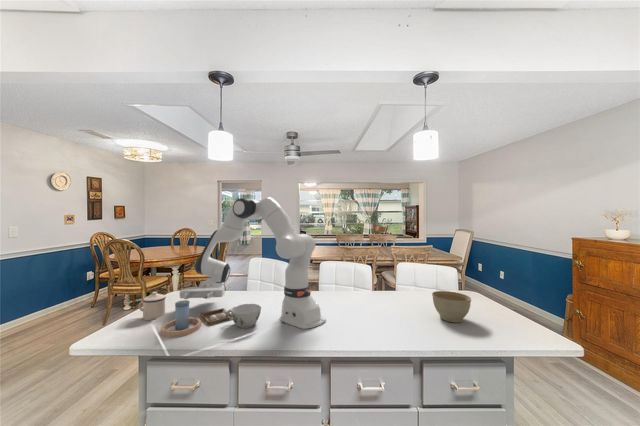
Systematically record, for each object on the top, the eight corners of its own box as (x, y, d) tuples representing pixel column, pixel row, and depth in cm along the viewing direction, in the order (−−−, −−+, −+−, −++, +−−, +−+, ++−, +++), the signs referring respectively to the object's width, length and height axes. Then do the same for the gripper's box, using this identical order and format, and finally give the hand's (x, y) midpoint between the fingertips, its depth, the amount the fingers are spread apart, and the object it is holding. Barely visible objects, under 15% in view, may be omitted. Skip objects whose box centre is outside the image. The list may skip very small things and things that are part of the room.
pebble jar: (190, 329, 103) (190, 302, 103) (176, 333, 99) (176, 305, 100) (187, 325, 107) (187, 299, 107) (173, 328, 103) (173, 302, 103)
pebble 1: (217, 322, 109) (217, 315, 110) (210, 324, 107) (210, 317, 108) (215, 320, 112) (215, 313, 112) (208, 321, 110) (208, 315, 110)
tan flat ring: (205, 331, 102) (205, 324, 102) (165, 342, 93) (165, 335, 93) (195, 320, 113) (195, 315, 113) (158, 330, 103) (158, 323, 103)
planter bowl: (477, 327, 107) (477, 302, 107) (437, 324, 110) (437, 299, 110) (463, 313, 122) (463, 291, 123) (428, 311, 125) (428, 289, 126)
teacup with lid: (169, 313, 122) (170, 289, 122) (156, 321, 113) (156, 295, 113) (146, 312, 122) (146, 289, 123) (131, 320, 113) (131, 294, 114)
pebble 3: (229, 317, 115) (229, 310, 115) (222, 318, 113) (222, 312, 113) (226, 315, 118) (226, 308, 118) (220, 316, 115) (220, 310, 116)
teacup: (265, 321, 112) (265, 303, 113) (254, 334, 100) (254, 314, 100) (234, 319, 115) (234, 302, 115) (219, 331, 102) (219, 311, 102)
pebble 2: (227, 319, 112) (227, 313, 112) (220, 321, 110) (220, 314, 110) (224, 318, 114) (224, 311, 114) (217, 319, 112) (217, 313, 112)
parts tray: (234, 320, 113) (234, 315, 113) (209, 327, 106) (209, 322, 106) (223, 312, 123) (223, 308, 123) (199, 318, 116) (199, 313, 116)
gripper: (187, 283, 128) (172, 291, 115) (227, 282, 130) (218, 289, 116) (187, 295, 128) (172, 304, 114) (227, 294, 129) (218, 303, 116)
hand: (195, 297), depth 115 cm, fingers open, 8 cm apart
